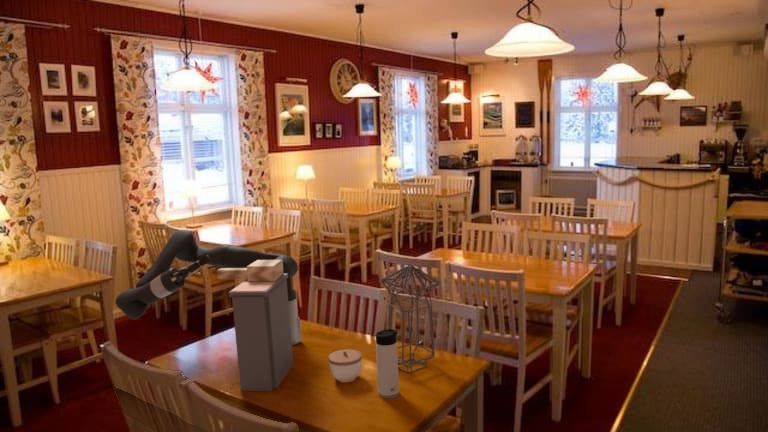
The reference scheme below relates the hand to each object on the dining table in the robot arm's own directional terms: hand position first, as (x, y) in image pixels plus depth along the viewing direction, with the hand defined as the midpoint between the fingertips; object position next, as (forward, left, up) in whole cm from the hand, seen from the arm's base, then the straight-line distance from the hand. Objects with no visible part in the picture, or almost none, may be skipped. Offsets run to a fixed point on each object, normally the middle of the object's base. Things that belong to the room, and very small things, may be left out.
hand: (204, 261), depth 199 cm
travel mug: (-36, +58, -37) cm, 78 cm away
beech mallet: (-11, +14, -5) cm, 18 cm away
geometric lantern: (-54, +46, -37) cm, 80 cm away
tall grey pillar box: (-12, +22, -37) cm, 45 cm away
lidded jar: (-31, +40, -37) cm, 63 cm away
